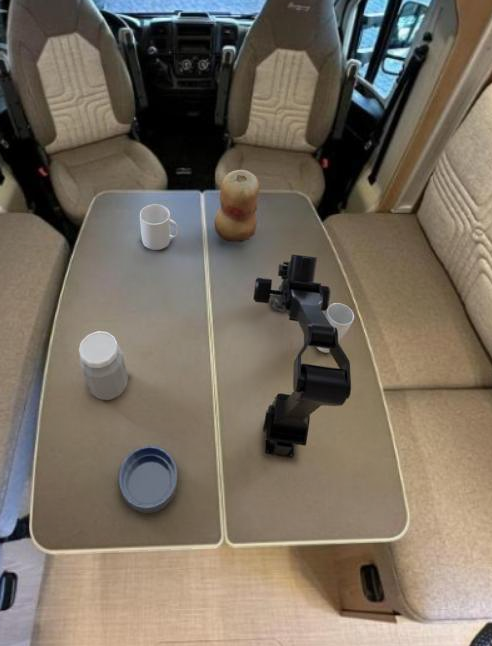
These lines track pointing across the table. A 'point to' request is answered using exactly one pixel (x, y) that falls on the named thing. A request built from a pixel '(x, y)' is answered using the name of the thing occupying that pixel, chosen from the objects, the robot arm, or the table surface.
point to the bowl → (148, 479)
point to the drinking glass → (339, 320)
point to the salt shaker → (278, 302)
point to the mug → (156, 226)
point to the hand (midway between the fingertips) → (286, 290)
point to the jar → (103, 365)
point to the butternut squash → (237, 207)
